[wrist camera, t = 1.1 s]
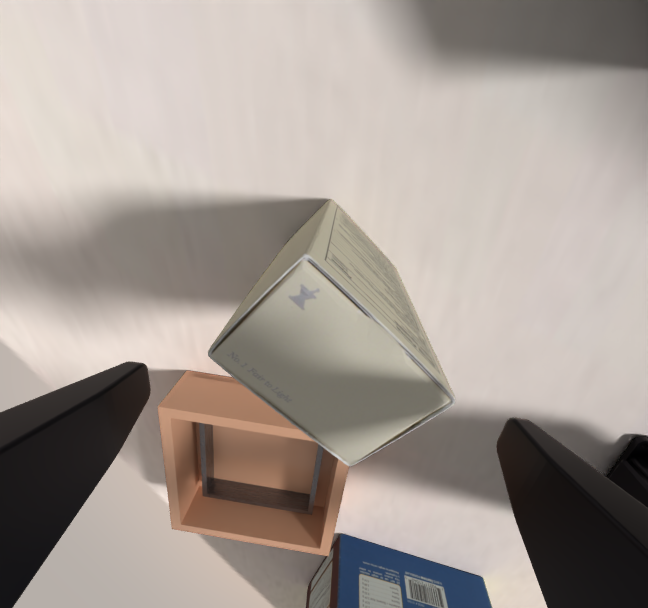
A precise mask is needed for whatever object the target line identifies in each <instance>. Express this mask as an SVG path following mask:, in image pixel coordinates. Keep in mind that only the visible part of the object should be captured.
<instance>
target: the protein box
mask: <svg viewBox="0 0 648 608" xmlns="http://www.w3.org/2000/svg"><path fill="white" fill-rule="evenodd" d="M306 608H492V606H491V602H490V599H489V596H488V592H487V589H486V586H485V582H484V579H483V578H482V577H480V576H476V575H473V574H470V573H467V572H464V571H461V570H457V569H454V568H451V567H448V566H445V565H441V564H438V563H435V562H432V561H429V560H426V559H422V558H419V557H416V556H413V555H409V554H406V553H403V552H400V551H397V550H393V549H390V548H387V547H384V546H381V545H377V544H374V543H371V542H368V541H364V540H361V539H358V538H355V537H352V536H348V535H345V534H340V535H339V536H338V538H337V540H336V541H335V543H334V545H333V546H332V548H331V550H330V553H329V556H326V558H325V559H324V561H323V562H322V564H321V566H320V568H319V569H318V571H317V572H316V574H315V576H314V577H313V579H312V581H311V582H310V584H309V586H308V591H307V602H306Z"/></svg>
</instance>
